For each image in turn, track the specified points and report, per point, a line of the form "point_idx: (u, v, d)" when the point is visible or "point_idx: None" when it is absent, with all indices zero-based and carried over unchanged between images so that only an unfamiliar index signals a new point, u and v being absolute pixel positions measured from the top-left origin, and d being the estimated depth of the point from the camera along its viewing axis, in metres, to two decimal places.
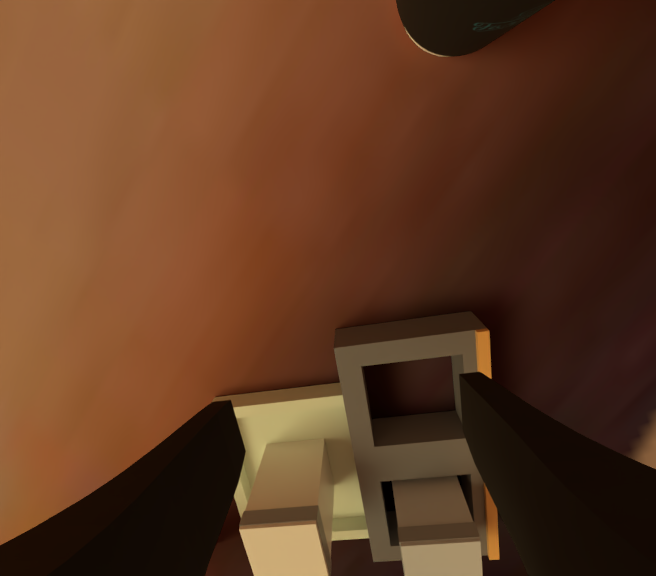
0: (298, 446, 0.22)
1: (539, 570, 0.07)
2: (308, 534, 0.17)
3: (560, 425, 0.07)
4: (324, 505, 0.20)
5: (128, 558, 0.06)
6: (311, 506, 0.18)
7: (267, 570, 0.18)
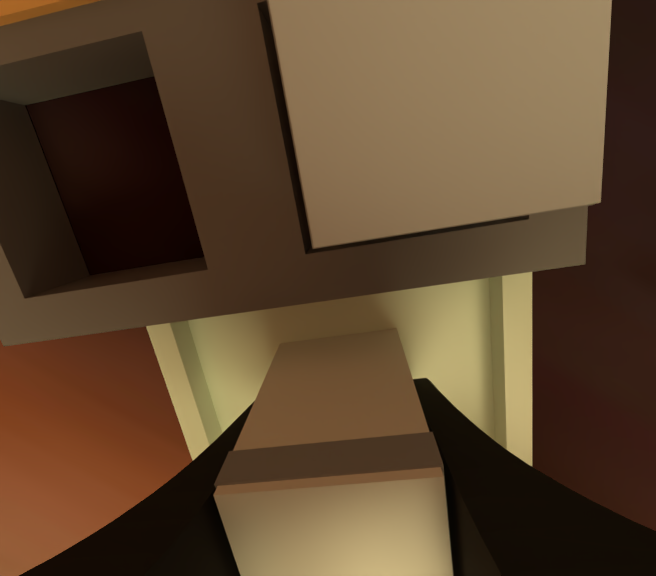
0: None
1: (458, 574, 0.07)
2: (254, 514, 0.06)
3: (480, 432, 0.07)
4: (314, 403, 0.08)
5: (208, 553, 0.06)
6: None
7: None
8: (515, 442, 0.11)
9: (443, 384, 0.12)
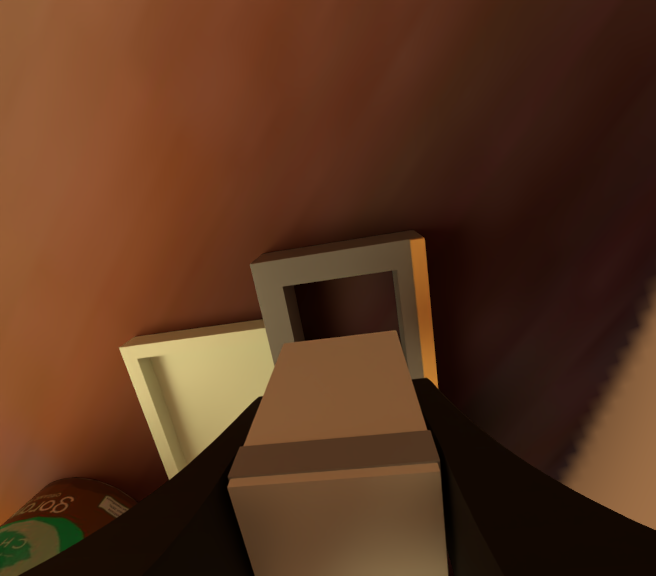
0: None
1: (459, 574, 0.07)
2: (265, 504, 0.07)
3: (481, 433, 0.07)
4: (319, 402, 0.09)
5: (207, 553, 0.06)
6: None
7: None
8: None
9: None
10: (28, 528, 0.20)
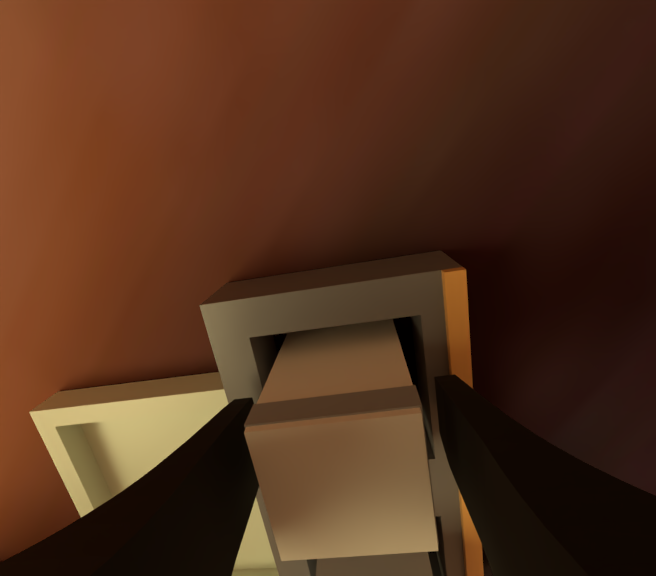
0: None
1: (501, 572, 0.07)
2: (276, 448, 0.08)
3: (523, 429, 0.07)
4: (321, 370, 0.10)
5: (165, 556, 0.06)
6: None
7: (392, 528, 0.08)
8: None
9: None
10: None
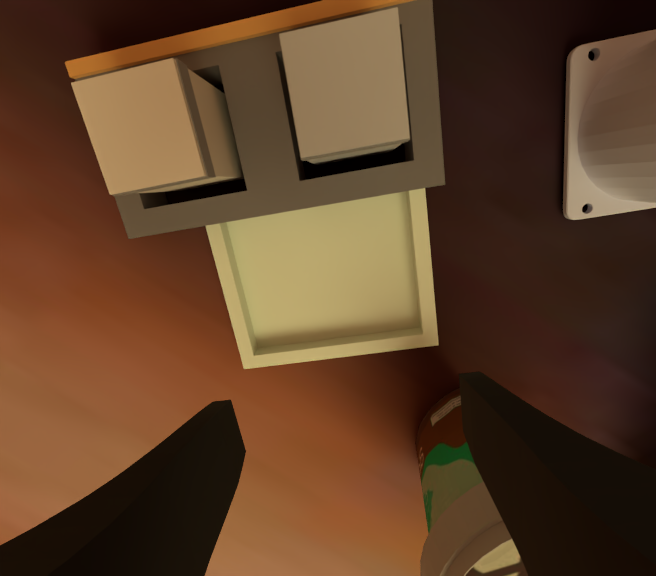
0: (205, 185, 0.19)
1: (539, 570, 0.07)
2: (115, 175, 0.13)
3: (560, 425, 0.07)
4: None
5: (128, 558, 0.06)
6: (132, 193, 0.15)
7: (160, 95, 0.12)
8: (425, 302, 0.19)
9: (384, 272, 0.20)
10: (425, 489, 0.20)
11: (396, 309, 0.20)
